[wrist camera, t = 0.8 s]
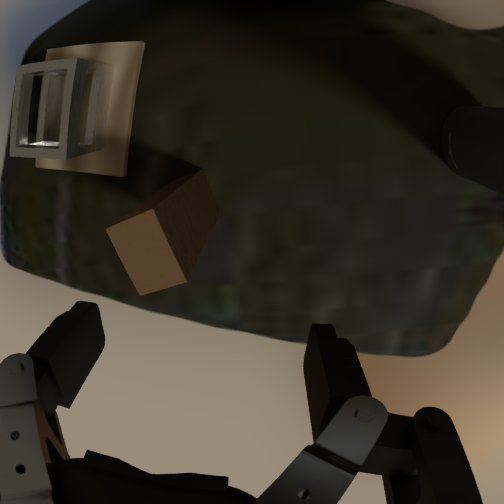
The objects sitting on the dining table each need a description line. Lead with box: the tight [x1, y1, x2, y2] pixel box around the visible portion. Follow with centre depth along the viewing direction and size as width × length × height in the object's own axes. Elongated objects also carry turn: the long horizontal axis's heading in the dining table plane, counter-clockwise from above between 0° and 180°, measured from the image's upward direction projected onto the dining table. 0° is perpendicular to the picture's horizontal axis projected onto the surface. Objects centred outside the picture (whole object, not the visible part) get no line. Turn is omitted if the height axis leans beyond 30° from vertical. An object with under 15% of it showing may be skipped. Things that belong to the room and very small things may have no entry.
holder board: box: [36, 41, 145, 177], centre depth 31 cm, size 14×16×1 cm
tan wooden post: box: [106, 169, 221, 296], centre depth 28 cm, size 4×6×16 cm
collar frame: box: [10, 58, 115, 160], centre depth 27 cm, size 8×10×8 cm
